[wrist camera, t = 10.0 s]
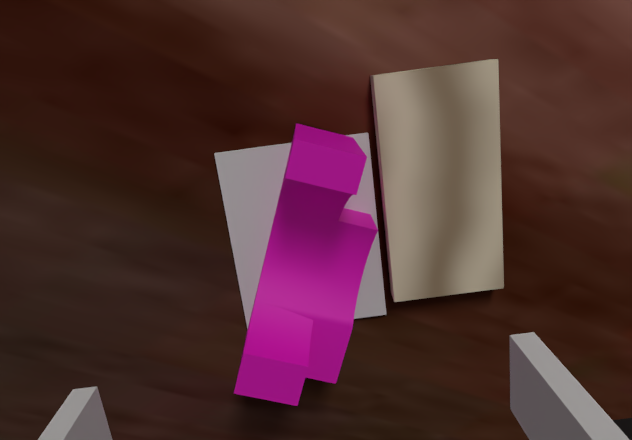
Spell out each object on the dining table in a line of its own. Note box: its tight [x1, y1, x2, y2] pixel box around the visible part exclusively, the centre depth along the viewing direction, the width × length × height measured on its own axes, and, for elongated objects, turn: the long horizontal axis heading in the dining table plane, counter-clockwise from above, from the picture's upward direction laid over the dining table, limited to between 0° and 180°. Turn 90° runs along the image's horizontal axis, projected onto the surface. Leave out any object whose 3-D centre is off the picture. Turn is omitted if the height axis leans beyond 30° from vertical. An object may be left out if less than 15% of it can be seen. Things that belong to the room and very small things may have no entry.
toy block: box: [234, 123, 378, 406], centre depth 31 cm, size 15×6×8 cm, turn 166°
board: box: [370, 59, 504, 302], centre depth 33 cm, size 8×15×2 cm, turn 8°
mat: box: [214, 133, 386, 329], centre depth 34 cm, size 10×13×1 cm
